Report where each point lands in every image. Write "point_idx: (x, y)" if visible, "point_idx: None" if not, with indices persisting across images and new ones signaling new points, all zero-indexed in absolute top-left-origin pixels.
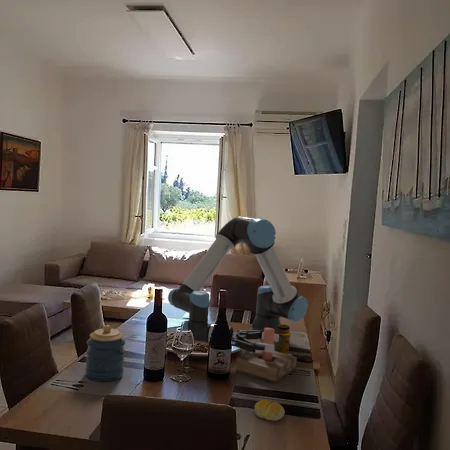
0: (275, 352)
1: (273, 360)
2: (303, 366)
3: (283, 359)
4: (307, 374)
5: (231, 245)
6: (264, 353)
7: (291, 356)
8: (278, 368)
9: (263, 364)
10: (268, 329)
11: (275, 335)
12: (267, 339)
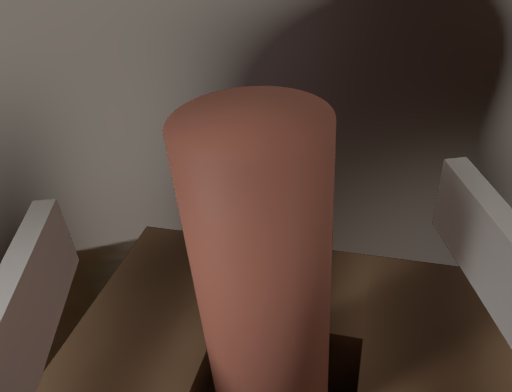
0: (82, 361)
1: None
2: (88, 268)
3: None
4: None
5: None
6: (327, 373)
7: (144, 250)
8: (448, 267)
9: (477, 374)
10: (269, 123)
11: (49, 229)
12: (332, 228)
